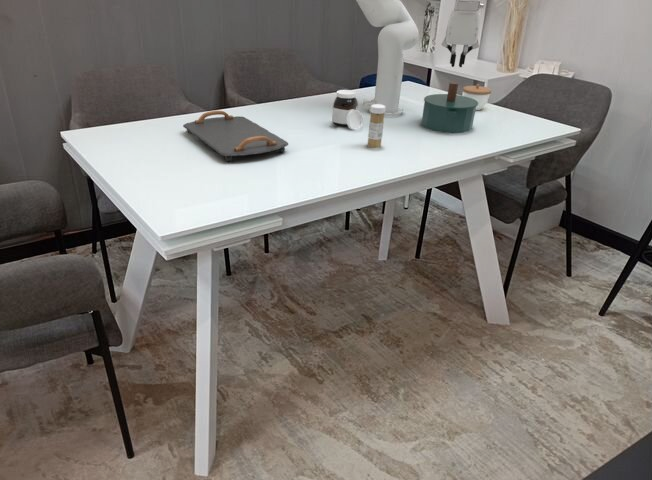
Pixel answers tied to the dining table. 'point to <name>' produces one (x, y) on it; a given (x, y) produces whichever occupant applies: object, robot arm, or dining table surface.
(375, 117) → the sprinkles bottle
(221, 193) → the dining table surface
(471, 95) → the white lidded jar
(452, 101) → the tin lid
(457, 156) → the dining table surface
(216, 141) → the serving tray
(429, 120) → the tin
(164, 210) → the dining table surface
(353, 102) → the spread jar
